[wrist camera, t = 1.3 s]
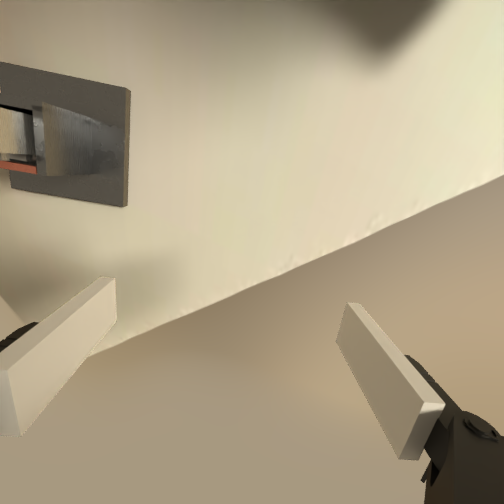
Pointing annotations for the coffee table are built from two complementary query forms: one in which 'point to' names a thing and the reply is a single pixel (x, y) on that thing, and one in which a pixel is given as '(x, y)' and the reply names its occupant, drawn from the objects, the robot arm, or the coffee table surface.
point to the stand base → (70, 134)
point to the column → (16, 136)
